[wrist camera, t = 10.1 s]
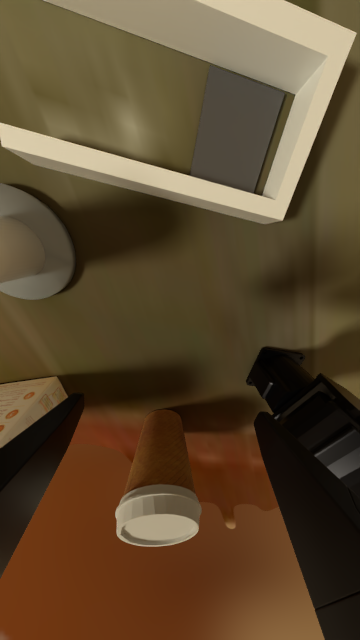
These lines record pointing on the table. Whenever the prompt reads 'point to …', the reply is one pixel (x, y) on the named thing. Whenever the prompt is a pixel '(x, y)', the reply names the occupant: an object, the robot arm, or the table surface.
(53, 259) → the coaster
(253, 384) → the robot arm
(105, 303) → the table surface
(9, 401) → the coffeecake box
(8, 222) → the salt mill
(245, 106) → the channel
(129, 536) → the disposable coffee cup
